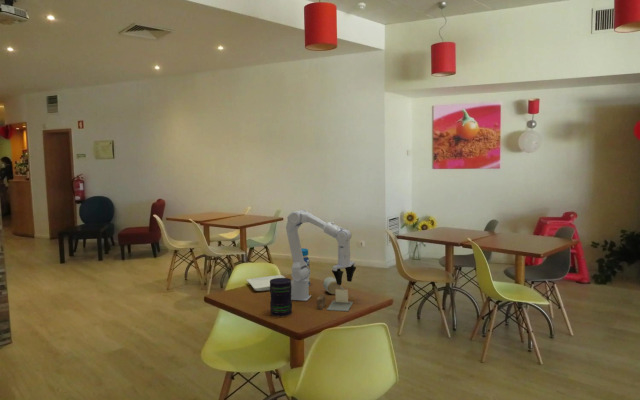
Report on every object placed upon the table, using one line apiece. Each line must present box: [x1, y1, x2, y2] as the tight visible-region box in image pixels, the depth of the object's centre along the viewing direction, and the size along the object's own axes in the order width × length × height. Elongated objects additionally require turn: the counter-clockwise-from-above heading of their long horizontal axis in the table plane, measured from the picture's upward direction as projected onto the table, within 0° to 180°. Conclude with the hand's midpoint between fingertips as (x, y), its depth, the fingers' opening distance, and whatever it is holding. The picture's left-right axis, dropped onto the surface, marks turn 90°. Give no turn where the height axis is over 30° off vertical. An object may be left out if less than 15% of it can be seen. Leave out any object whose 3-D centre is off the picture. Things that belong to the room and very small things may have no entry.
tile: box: [335, 288, 349, 302], centre depth 225 cm, size 6×1×6 cm, turn 76°
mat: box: [326, 299, 354, 312], centre depth 222 cm, size 10×14×1 cm
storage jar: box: [269, 277, 293, 317], centre depth 213 cm, size 10×10×15 cm
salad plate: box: [245, 274, 286, 292], centre depth 259 cm, size 21×21×3 cm
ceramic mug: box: [322, 276, 345, 295], centre depth 244 cm, size 11×8×8 cm
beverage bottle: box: [301, 247, 311, 287], centre depth 259 cm, size 8×8×20 cm
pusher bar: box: [316, 294, 326, 311], centre depth 220 cm, size 2×7×5 cm, turn 167°
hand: (344, 283), depth 225 cm, fingers open, 7 cm apart
